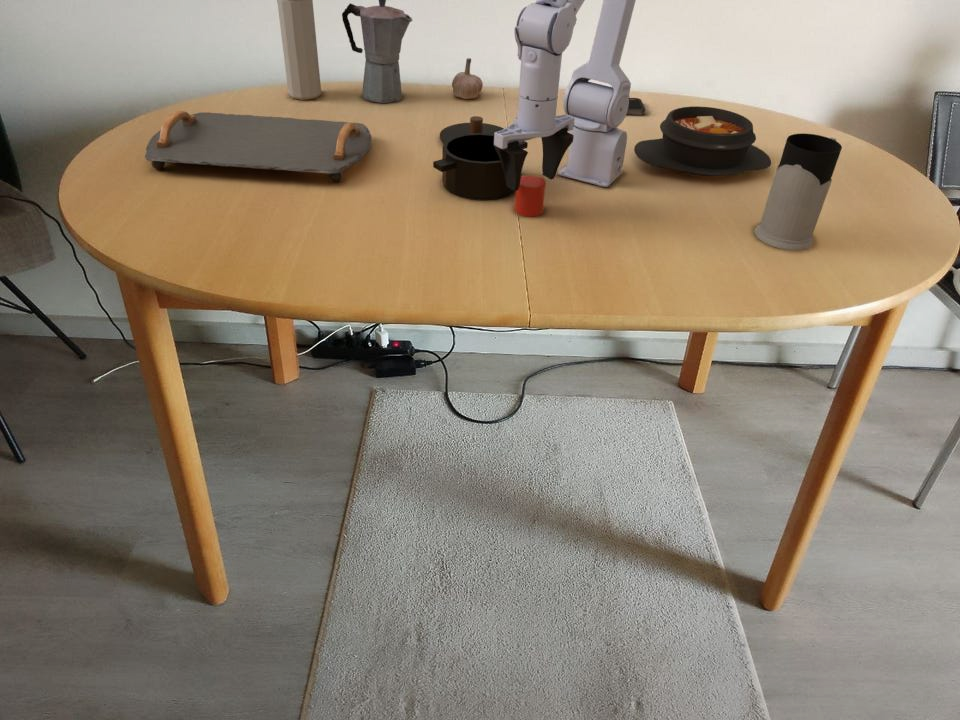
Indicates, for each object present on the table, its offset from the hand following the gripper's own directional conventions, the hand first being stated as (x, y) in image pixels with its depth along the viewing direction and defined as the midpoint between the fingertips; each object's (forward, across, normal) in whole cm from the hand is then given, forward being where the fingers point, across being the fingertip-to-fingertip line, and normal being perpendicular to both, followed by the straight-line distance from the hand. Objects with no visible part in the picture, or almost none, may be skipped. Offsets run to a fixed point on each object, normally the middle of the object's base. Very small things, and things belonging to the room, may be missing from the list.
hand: (530, 182), depth 114 cm
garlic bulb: (+5, -27, -50) cm, 57 cm away
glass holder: (+5, -30, +29) cm, 42 cm away
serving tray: (+5, +25, -44) cm, 51 cm away
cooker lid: (+4, -12, -28) cm, 31 cm away
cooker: (+5, 0, -12) cm, 13 cm away
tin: (+5, 0, 0) cm, 5 cm away
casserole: (+5, -39, +4) cm, 40 cm away
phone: (+5, -47, -27) cm, 55 cm away
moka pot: (+5, -10, -60) cm, 61 cm away
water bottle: (+5, +3, -70) cm, 70 cm away
